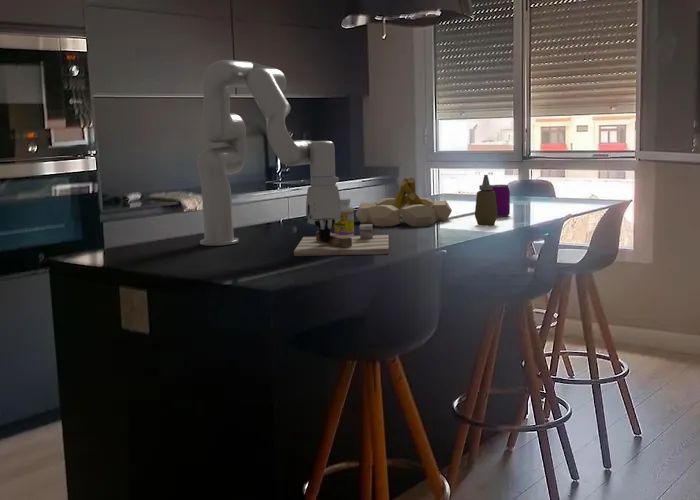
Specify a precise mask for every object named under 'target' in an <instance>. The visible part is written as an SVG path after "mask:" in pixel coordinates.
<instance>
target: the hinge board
mask: <svg viewBox="0 0 700 500" xmlns="http://www.w3.org/2000/svg"><path fill="white" fill-rule="evenodd" d="M373 225H374V224H373V223H360V224H359V235H353V236H346V237H350V238H352V246H349V247H340V246H337V245H334V244H330V243H327V242H321V241H318V240H316V236H303V237H302V239H301V240H300V242H299V243H298V244H297V246H296V247H295V249H294V251H293V257H306V256H307V257H309V256H347V255H351V256H352V255H355V256H356V255H358V256H359V255H389V251H390V250H389V249H390V248H389V243H390V242H389V238H390V237H389V234H374V232H373V231H374V229H373V227H374V226H373Z"/></svg>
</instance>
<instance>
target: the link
mask: <svg viewBox="0 0 700 500" xmlns="http://www.w3.org/2000/svg"><path fill="white" fill-rule="evenodd" d="M315 237H316V240H318V241H320V239H319V230H318V231H316V232H315ZM327 243H330V244H334V245H337V246H340V247H349V246H352V238H350V237H346V236H342V235H338V234H335V233H333V232H331V231H330V239H329V242H327Z"/></svg>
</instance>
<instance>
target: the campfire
mask: <svg viewBox="0 0 700 500" xmlns="http://www.w3.org/2000/svg"><path fill="white" fill-rule="evenodd" d="M452 212H453V211H452V208H451V207H450V205H449V203H448V202H447V200H445V199H442V200H439V199H438V200H433V199H431V198H430V197H419V195H418V194H417V193H416V178H414V177H412V176H411V177H409V178H406V177H405V178H404V179H402V181H401V183H400V184H399V189H398V192H397V194H396V197H395V198H394V197H387V198H386V197H385V198H381V199H379V200H378V201H376V202H373V201H372V202H371V201H370V202H369V201H366V202H365V201H363V202H362V201H361V203H360V205H359V206H358V209H357V210H356V212H355V216H356V218H357V219H358V221H359V223H360V224H373V225H374V227H385V226H391V227H393V226H397V225H399V224H401V215H402V219H403V222H404V223H406V224H407V225H409V227H413V226H414V228H416V227H415V226H417V227H428V226H431V225H433V224H434V223H435V222H447V220H448V218H449V217H450V216H451V213H452Z"/></svg>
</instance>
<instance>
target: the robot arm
mask: <svg viewBox="0 0 700 500" xmlns="http://www.w3.org/2000/svg"><path fill="white" fill-rule="evenodd" d="M287 84H288V83H287V78H286V76H285V74H284V73H283V71H281V70H280V69H278V68H276V67H275V68H274V67H272V66H271V67H270V66H269V65H268V66H267V65H263V64H260V63H256V62H252V61H248V60H247V61H246V60H236V59H222V60H217V61H214V62H213V63H211V64H210V65H208V66H207V67H206V69H205V71H204V73H203V77H202V91H203V103H202V104H203V105H202V106H203V107H202V135H203V137H204V139H205V141H207V142H209V143H212V144H213V143H214V144H219V143H220V144H221V145H220V146H211V147H207V148H205V149H202V151H201V152H200V153H199V154H198V156H197V159H196V166H197V171H198V175H199V179H200V187H201V200H202V201H201V202H202V217H203V219H202V220H203V234H204V238H203V239H201V240H199V244H200V245H201V246H206V247H207V246H209V247H211V246H212V247H214V246H216V247H217V246H218V247H219V246H228V245H234V244H237V243H239V238H238V237H236V236H235V235H234V221H233V219H234V218H233V203H232V202H233V201H232V200H233V199H232V188H231V184H230V182H229V180H228V177H227V176H230V175H235V174H238V173H239V172H241V171H242V169H244V168H243V167H244V165H245V161H246V146H247V145H246V144H247V143H246V141H247V128H246V124H245V122H244V120H243V118H242V117H241V116H240V115H238V114H237V113H233V112H231V100H230V99H231V98H230V95H229V92H228V90H227V89H228V88H238V89H239V88H242V89H243V88H244V89H248V90H249V92H250V94H251V95H252V97H253V99H254V100H255V102H256V104H257V106H258V108H259V109H260V112H261V113H262V115H263V116H264V118H265V120H266V121H265V122H266V125H265V126H266V127H265V129H266V135H267V140H268V143H269V145H270V146H271V149H272V150H273V153H274V155H276V157H277V159H278V160H279V161H280V162H281V163H282V164H284V165H285V166H288V167H295V166H304V165H305V166H306V165H309V168H310V170H309V171H310V172H309V173H310V174H309V175H310V186H308V187H307V192H306V201H305V215H306V216H305V217H306V218H307V224H311V225H314V226H316V228H317V229H318V231H319V239H320V241H321V242H329V239H330V232H331V229H332V226H333V225H334V223H336V222H339V221H340V220H341V218H340V215H341V204H340V198H341V197H340V191H339V187H338V185H337V183H338V182H339V181H340V177H339V176H337V175H336V151H335V149H336V148H335V143H334V142H333V141H330V140H309V139H299V140H298V139H296V140H293V139H292V136H291V135H290V133H289V131H288V128H287V126H286V117H287V116H288V115H289V114H290V112H291V105H290V103H289V102H288V100H287V98H286V96H285V95H284V92H285V91H286V89H287ZM234 236H235V237H234Z"/></svg>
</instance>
